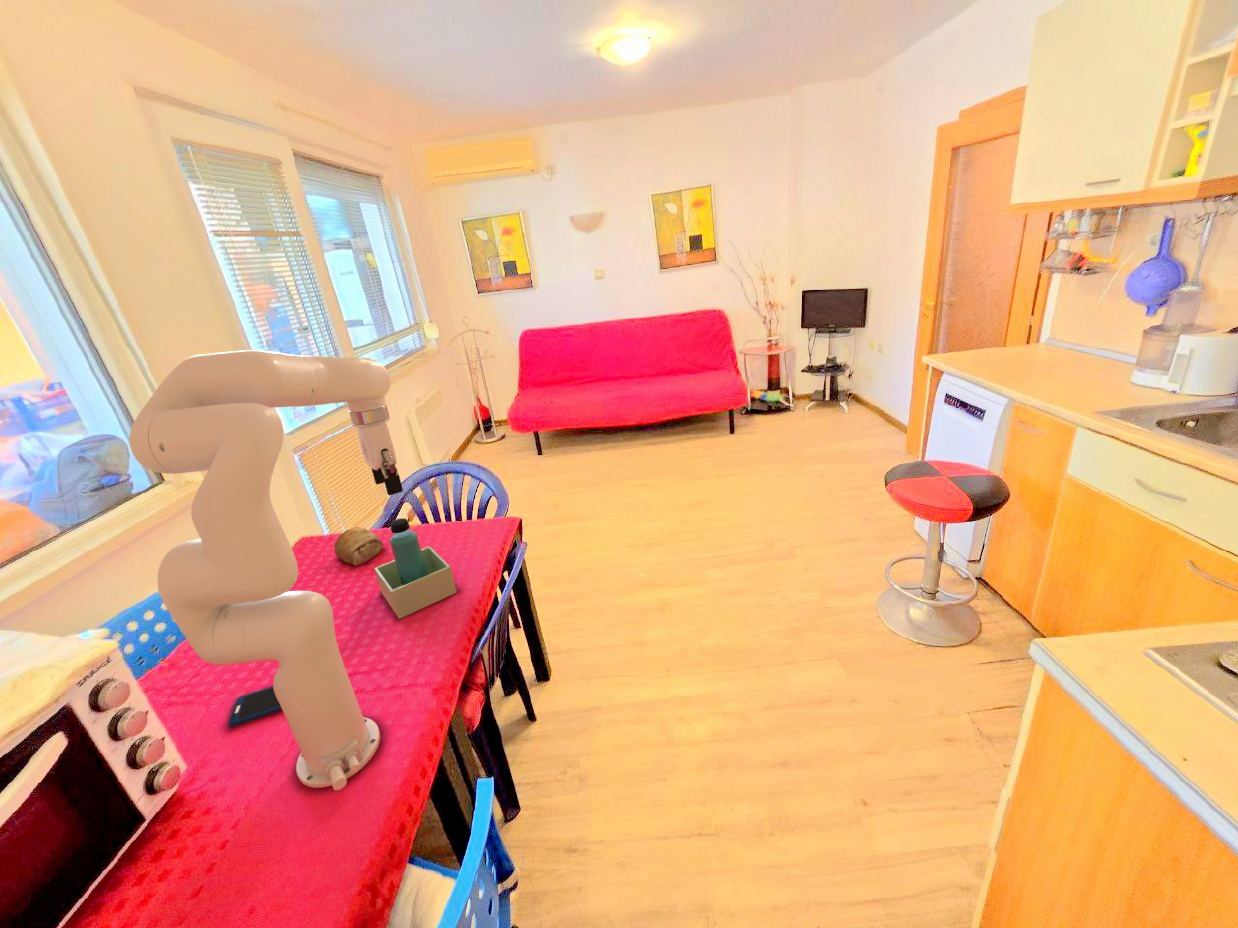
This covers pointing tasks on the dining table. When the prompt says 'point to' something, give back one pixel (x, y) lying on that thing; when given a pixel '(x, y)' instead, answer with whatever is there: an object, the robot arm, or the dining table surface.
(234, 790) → the dining table surface
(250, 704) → the cell phone
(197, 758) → the dining table surface
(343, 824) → the dining table surface
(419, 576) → the beverage bottle
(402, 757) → the dining table surface
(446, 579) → the bin
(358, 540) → the pastry
